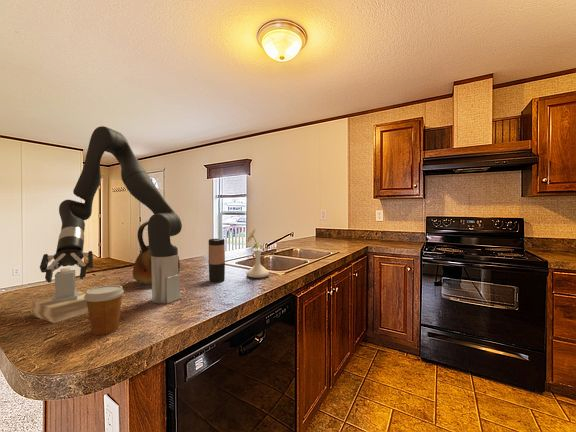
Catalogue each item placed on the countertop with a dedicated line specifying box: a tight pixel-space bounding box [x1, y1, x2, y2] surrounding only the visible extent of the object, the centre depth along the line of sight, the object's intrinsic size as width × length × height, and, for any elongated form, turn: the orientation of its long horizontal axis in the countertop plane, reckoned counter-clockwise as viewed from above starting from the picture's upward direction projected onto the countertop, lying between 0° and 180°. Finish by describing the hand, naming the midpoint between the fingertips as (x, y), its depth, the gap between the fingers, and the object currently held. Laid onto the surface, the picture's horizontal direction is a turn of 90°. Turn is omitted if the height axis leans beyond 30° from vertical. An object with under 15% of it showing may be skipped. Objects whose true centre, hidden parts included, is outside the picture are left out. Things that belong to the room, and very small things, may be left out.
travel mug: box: [208, 238, 226, 284], centre depth 132 cm, size 8×8×20 cm
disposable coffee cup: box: [84, 284, 125, 336], centre depth 79 cm, size 10×10×12 cm
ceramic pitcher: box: [132, 220, 181, 285], centre depth 129 cm, size 20×20×30 cm
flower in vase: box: [246, 228, 270, 279], centre depth 138 cm, size 13×11×25 cm
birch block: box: [32, 291, 89, 324], centre depth 92 cm, size 13×13×5 cm
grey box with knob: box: [52, 267, 80, 303], centre depth 92 cm, size 6×6×10 cm
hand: (65, 279), depth 91 cm, fingers open, 8 cm apart
